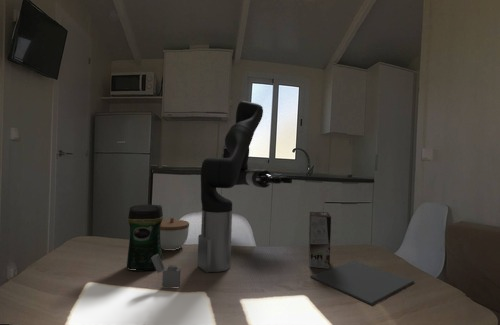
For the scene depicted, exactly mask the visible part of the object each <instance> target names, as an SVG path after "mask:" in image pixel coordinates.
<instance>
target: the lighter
mask: <svg viewBox="0 0 500 325" xmlns="http://www.w3.org/2000/svg"><path fill="white" fill-rule="evenodd" d="M151 259H152V261H153V264H154V266H155V268H156V269H155V270H156V272H157V274H158V273H161V272H162V282H161V284H162V285H161V286H163V287H179V286H180V287H181V271H182V269H181V268H178V266H177V265H175V264H169V265H167V268H165V265H164V263H163V260H162V261H161V259H160V257H159V254H156V255H154V256H153V257H152V258H151ZM180 287H179V288H180Z"/></svg>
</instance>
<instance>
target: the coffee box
mask: <svg viewBox="0 0 500 325" xmlns="http://www.w3.org/2000/svg"><path fill="white" fill-rule="evenodd" d="M331 221H332V216H331V215H330V213H329V212H326V211H324V212H323V211H310V212H309V226H308V231H309V232H308V235H309V237H308V263H309V265H308V266H309V267H310V268H319V269H325V270H328V269H331V268H330V265H331V264H330V263H331V262H330V261H331V236H332V234H331V232H332V222H331Z"/></svg>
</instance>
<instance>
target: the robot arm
mask: <svg viewBox="0 0 500 325" xmlns="http://www.w3.org/2000/svg"><path fill="white" fill-rule="evenodd" d="M235 112H236V113H235V123H234V124H233V125H232V126H231V127H230V128H229V130H228V131H227V134H226V135H225V138H224V146H225V149H226V150H227V152H228V153H229V155H230V156H229V157H207V158H204V159H203V161H202V164H201V168H200V200H201V201H200V202H201V233H200V234H198V236H197V237H198V240H197V242H198V243H197V267H198V266H199V267H198V268H199V269H200V270H202V271H204V272H205V273H219V272H224V271H227V270H229V269H230V268H231V260H232V257H231V256H232V232H233V231H232V228H233V225H232V224H233V202H232V200H230V199H229V198H226V197H224V196H223V195H221V194H220V193H218V191H217V189H230V188H231V189H232V188H233V187H235V186H242V185H243V186H244V185H245V186H251V187H255V188H263V189H265V188H269V186H270V185H275V184H277V185H281V183H282V184H292V183H293V178H292V177H289V176H282V175H278V174H276V175H275V174H271V173H270V171H269V170H267V169H249V168H248V166H249V165H248V163H249V162H248V161H249V156H250V146H251V144H252V141H253V137H254V134H255V132H256V130H257V128H258V126H259V125H260V123H261V121H262V118H263V115H264V107H263V106H262V104H259V103H256V102H251V101H245V100H241V101H239V103H238V105H237V107H236V111H235Z"/></svg>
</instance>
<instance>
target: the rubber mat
mask: <svg viewBox="0 0 500 325" xmlns="http://www.w3.org/2000/svg"><path fill="white" fill-rule="evenodd" d="M309 277H310V278H312V279H314V280H316V281H318V282H320V283H322V284H325V285H326V286H329V287H331V288H333V289H335V290H337V291H340V292H341V293H344V294H347V295H348V296H350V297H353V298H355V299H357V300H359V301H361V302H363V303H366V304H367V305H370V306H373V305H375V304H376V303H378V302H380V301H382V300H384V299H387V297H389V296H391V295H394V294H395V293H396V292H399V291H401V290H403V289H404V288H406V287H408V286H411V285H412V284H413V283H414V282H415V280H413V279H410V278H407V277H404V276H401V275H398V274H395V273H392V272H389V271H386V270H383V269H380V268H377V267H374V266H371V265H368V264H365V263H363V262H360V261H357V260H353V261H350V262H346V263H343V264H341V265H338V266H335V267H332V268H329V269H325V270H322V271H320V272H316V273H314V274H311V275H310V276H309Z"/></svg>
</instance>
